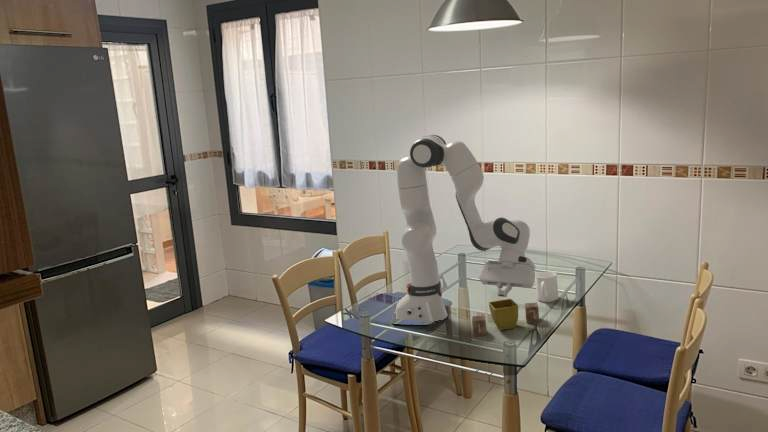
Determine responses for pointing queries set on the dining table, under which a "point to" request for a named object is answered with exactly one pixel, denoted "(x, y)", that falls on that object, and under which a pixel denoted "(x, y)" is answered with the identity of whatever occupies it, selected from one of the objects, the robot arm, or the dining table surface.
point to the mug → (546, 286)
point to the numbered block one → (479, 326)
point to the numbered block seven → (532, 312)
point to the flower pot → (504, 313)
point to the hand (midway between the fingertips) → (501, 295)
